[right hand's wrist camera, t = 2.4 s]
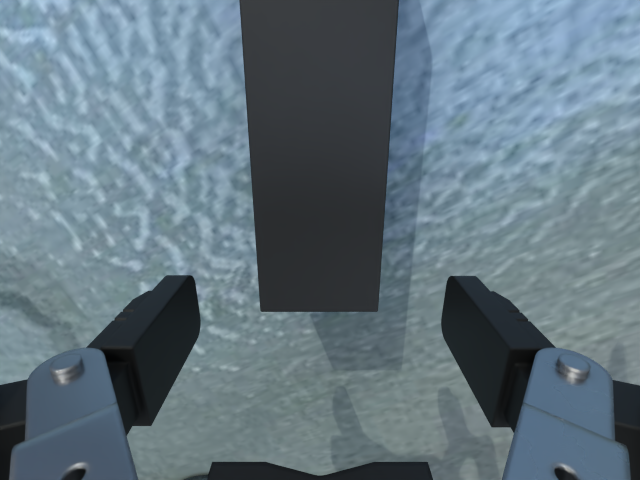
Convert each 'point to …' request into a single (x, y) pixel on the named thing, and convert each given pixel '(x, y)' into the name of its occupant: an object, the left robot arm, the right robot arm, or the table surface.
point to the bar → (319, 148)
